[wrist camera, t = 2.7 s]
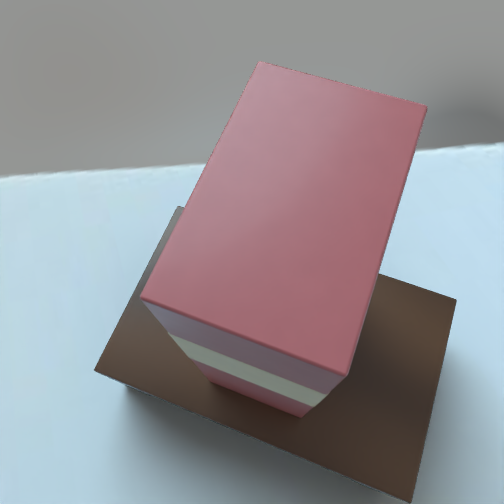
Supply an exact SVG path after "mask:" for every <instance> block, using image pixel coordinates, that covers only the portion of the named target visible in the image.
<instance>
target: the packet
mask: <svg viewBox="0 0 504 504" xmlns="http://www.w3.org/2000/svg"><path fill="white" fill-rule="evenodd" d="M426 112H427V106H426V105H423V104H419V103H415V102H412V101H408V100H404V99H400V98H397V97H393V96H389V95H385V94H381V93H378V92H374V91H370V90H367V89H363V88H359V87H355V86H352V85H348V84H344V83H340V82H337V81H333V80H329V79H325V78H322V77H318V76H314V75H311V74H307V73H303V72H299V71H296V70H292V69H288V68H284V67H281V66H277V65H273V64H269V63H266V62H262V61H259V62H258V63H257V65H256V67H255V69H254V71H253V73H252V75H251V77H250V79H249V81H248V83H247V85H246V87H245V89H244V91H243V93H242V95H241V97H240V99H239V101H238V103H237V105H236V107H235V109H234V111H233V113H232V115H231V117H230V119H229V121H228V123H227V125H226V126H225V128H224V130H223V132H222V134H221V137H220V138H219V140H218V142H217V144H216V146H215V149H214V150H213V152H212V154H211V156H210V158H209V160H208V162H207V164H206V166H205V168H204V170H203V172H202V174H201V176H200V178H199V180H198V182H197V184H196V186H195V188H194V190H193V192H192V194H191V196H190V198H189V200H188V202H187V204H186V206H185V208H184V210H183V212H182V214H181V216H180V218H179V220H178V222H177V224H176V226H175V228H174V230H173V231H172V233H171V235H170V237H169V239H168V241H167V243H166V245H165V247H164V249H163V251H162V253H161V255H160V257H159V259H158V261H157V263H156V265H155V267H154V269H153V271H152V273H151V275H150V277H149V279H148V281H147V283H146V285H145V287H144V289H143V291H142V293H141V295H140V299H141V300H142V302H143V303H144V304H145V305H146V306H147V308H148V309H149V310H150V311H151V312H152V313H153V315H154V316H155V317H156V318H157V319H158V321H159V322H160V323H161V324H162V325H163V327H164V328H165V329H166V330H167V331H168V334H169V335H170V336H171V337H172V338H173V340H174V341H175V342H176V343H177V344H178V345H179V347H180V348H181V349H182V350H183V351H184V352H185V354H186V355H187V356H188V357H189V358H191V360H192V361H193V362H194V363H195V364H196V366H197V367H198V368H199V369H200V370H201V371H202V373H203V374H204V375H205V376H206V377H207V379H208V380H209V381H210V382H212V383H215V384H217V385H220V386H222V387H225V388H227V389H230V390H232V391H235V392H237V393H240V394H242V395H245V396H247V397H250V398H252V399H255V400H257V401H259V402H262V403H264V404H267V405H269V406H272V407H274V408H277V409H279V410H282V411H284V412H287V413H289V414H292V415H294V416H297V417H299V418H302V417H303V416H304V415H305V414H306V413H308V412H309V411H310V410H311V409H312V408H313V407H315V406H316V405H317V404H318V403H320V402H321V401H322V400H323V399H324V398H325V397H326V396H327V395H328V394H329V393H330V391H331V390H332V389H334V388H335V387H336V386H337V385H338V384H339V383H340V382H341V381H342V380H343V379H344V378H345V377H346V376H347V375H348V373H349V370H350V366H351V363H352V360H353V356H354V353H355V350H356V346H357V343H358V340H359V336H360V333H361V330H362V326H363V323H364V320H365V316H366V313H367V310H368V306H369V303H370V300H371V296H372V293H373V290H374V286H375V283H376V280H377V276H378V273H379V270H380V266H381V263H382V260H383V256H384V253H385V250H386V246H387V243H388V240H389V236H390V233H391V230H392V226H393V223H394V220H395V216H396V213H397V210H398V206H399V203H400V200H401V196H402V193H403V190H404V186H405V183H406V180H407V176H408V173H409V170H410V166H411V163H412V160H413V156H414V153H415V150H416V146H417V143H418V140H419V136H420V133H421V129H422V126H423V123H424V120H425V116H426Z"/></svg>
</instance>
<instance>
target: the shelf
mask: <svg viewBox="0 0 504 504" xmlns="http://www.w3.org/2000/svg"><path fill="white" fill-rule="evenodd" d="M183 210H184V208H183V207H180V206H178V207H177V209H176V211H175V212H174V214H173V216H172V218H171V220H170V222H169V224H168V226H167V228H166V230H165V232H164V234H163V236H162V238H161V240H160V242H159V244H158V246H157V248H156V250H155V252H154V254H153V255H152V257H151V259H150V261H149V263H148V265H147V267H146V269H145V271H144V273H143V275H142V277H141V279H140V281H139V283H138V285H137V287H136V289H135V291H134V293H133V295H132V296H131V298H130V300H129V302H128V304H127V306H126V308H125V310H124V312H123V314H122V316H121V318H120V320H119V322H118V324H117V326H116V328H115V330H114V332H113V334H112V336H111V337H110V339H109V341H108V343H107V345H106V347H105V349H104V351H103V353H102V355H101V357H100V359H99V361H98V363H97V365H96V367H95V369H94V371H96V372H98V373H100V374H102V375H104V376H107V377H109V378H111V379H113V380H115V381H118V382H120V383H122V384H124V385H127V386H129V387H131V388H134V389H136V390H138V391H141V392H143V393H146V394H148V395H152V396H154V397H157V398H159V399H161V400H164V401H166V402H169V403H171V404H173V405H176V406H178V407H181V408H183V409H185V410H188V411H190V412H192V413H195V414H197V415H200V416H202V417H204V418H207V419H209V420H211V421H214V422H216V423H219V424H221V425H223V426H226V427H228V428H231V429H233V430H235V431H238V432H240V433H242V434H245V435H247V436H250V437H252V438H254V439H257V440H259V441H261V442H264V443H266V444H269V445H271V446H273V447H276V448H278V449H281V450H283V451H285V452H288V453H290V454H292V455H295V456H297V457H300V458H302V459H304V460H307V461H309V462H312V463H314V464H316V465H319V466H321V467H323V468H326V469H328V470H331V471H333V472H335V473H338V474H340V475H342V476H345V477H347V478H350V479H351V480H353V481H355V482H357V483H360V484H362V485H364V486H367V487H369V488H372V489H374V490H376V491H379V492H381V493H384V494H386V495H389V496H392V497H394V498H397V499H400V500H402V501H405V502H407V503H411V502H412V498H413V494H414V489H415V485H416V480H417V476H418V471H419V467H420V463H421V458H422V454H423V449H424V445H425V440H426V436H427V431H428V427H429V422H430V418H431V413H432V409H433V404H434V400H435V396H436V391H437V387H438V382H439V378H440V373H441V369H442V364H443V360H444V355H445V351H446V346H447V342H448V337H449V333H450V328H451V324H452V320H453V315H454V311H455V306H456V302H457V300H456V299H454V298H451V297H448V296H445V295H442V294H439V293H436V292H433V291H430V290H427V289H424V288H421V287H418V286H415V285H412V284H409V283H406V282H403V281H400V280H397V279H394V278H391V277H388V276H385V275H382V274H379V273H378V276H377V280H376V283H375V286H374V290H373V293H372V296H371V300H370V303H369V306H368V310H367V313H366V316H365V320H364V323H363V326H362V330H361V333H360V336H359V340H358V343H357V346H356V350H355V353H354V356H353V360H352V363H351V366H350V370H349V373H348V375H347V376H346V377H345V378H344V379H343V380H342V381H341V382H340V383H339V384H338V385H337V386H336V387H335V388H334V389H332V390H331V391H330V393H329V394H328V395H327V396H326V397H325V398H324V399H323V400H322V401H321V402H320V403H318V404H317V405H316V406H315V407H313V408H312V409H311V410H310V411H309V412H308V413H306V414H305V415H304V416H303V417H302V418H299V417H297V416H294V415H292V414H289V413H287V412H284V411H282V410H279V409H277V408H274V407H272V406H269V405H267V404H264V403H262V402H259V401H257V400H255V399H252V398H250V397H247V396H245V395H242V394H240V393H237V392H235V391H232V390H230V389H227V388H225V387H222V386H220V385H217V384H215V383H212V382H210V381H209V380H208V379H207V377H206V376H205V375H204V374H203V373H202V371H201V370H200V369H199V368H198V367H197V366H196V364H195V363H194V362H193V361H192V360H191V358H189V357H188V356H187V355H186V354H185V352H184V351H183V350H182V349H181V348H180V347H179V345H178V344H177V343H176V342H175V341H174V340H173V338H172V337H171V336H170V335H169V334H168V331H167V330H166V329H165V328H164V327H163V325H162V324H161V323H160V322H159V321H158V319H157V318H156V317H155V316H154V315H153V313H152V312H151V311H150V310H149V309H148V308H147V306H146V305H145V304H144V303H143V302H142V300H141V299H140V295H141V293H142V291H143V289H144V287H145V285H146V283H147V281H148V279H149V277H150V275H151V273H152V271H153V269H154V267H155V265H156V263H157V261H158V259H159V257H160V255H161V253H162V251H163V249H164V247H165V245H166V243H167V241H168V239H169V237H170V235H171V233H172V231H173V230H174V228H175V226H176V224H177V222H178V220H179V218H180V216H181V214H182V212H183Z"/></svg>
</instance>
